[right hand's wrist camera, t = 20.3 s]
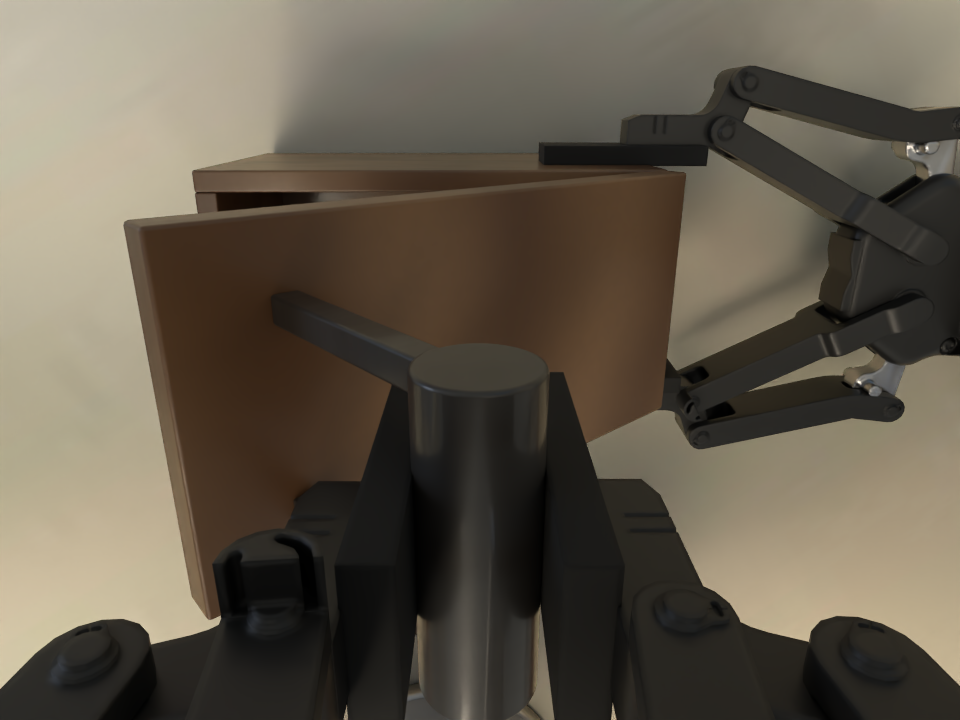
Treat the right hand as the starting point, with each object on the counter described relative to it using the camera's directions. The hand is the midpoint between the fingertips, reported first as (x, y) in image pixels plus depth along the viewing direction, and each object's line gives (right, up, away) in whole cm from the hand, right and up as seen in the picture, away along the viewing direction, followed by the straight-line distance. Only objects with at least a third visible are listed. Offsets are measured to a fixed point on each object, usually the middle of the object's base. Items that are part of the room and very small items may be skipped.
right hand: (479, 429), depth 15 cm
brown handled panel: (0, +2, +6) cm, 6 cm away
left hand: (+3, +5, +15) cm, 16 cm away
